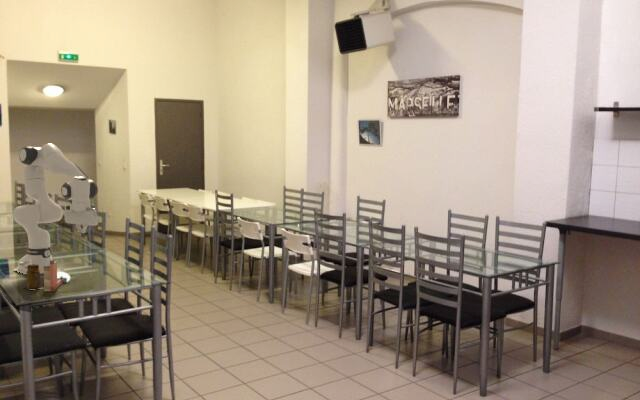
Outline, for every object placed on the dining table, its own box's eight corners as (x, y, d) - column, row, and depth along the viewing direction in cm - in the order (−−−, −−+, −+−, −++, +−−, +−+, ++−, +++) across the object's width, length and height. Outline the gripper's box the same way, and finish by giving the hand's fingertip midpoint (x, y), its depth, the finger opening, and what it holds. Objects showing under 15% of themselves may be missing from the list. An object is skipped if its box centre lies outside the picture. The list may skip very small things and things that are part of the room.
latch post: (45, 289, 293) (44, 264, 292) (53, 289, 294) (52, 264, 292) (43, 291, 290) (42, 266, 288) (51, 291, 290) (50, 266, 289)
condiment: (38, 285, 300) (37, 263, 299) (44, 288, 294) (44, 266, 293) (23, 288, 295) (22, 265, 293) (29, 291, 289) (29, 268, 288)
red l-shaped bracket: (58, 283, 304) (57, 254, 302) (62, 283, 304) (61, 254, 303) (50, 291, 288) (49, 261, 287) (54, 291, 289) (53, 261, 287)
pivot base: (54, 282, 306) (54, 277, 306) (61, 280, 310) (61, 275, 310) (61, 284, 304) (61, 278, 304) (68, 281, 309) (68, 276, 308)
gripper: (100, 207, 303) (101, 233, 304) (71, 205, 310) (72, 230, 312) (91, 208, 297) (92, 235, 298) (62, 206, 304) (62, 232, 306)
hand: (81, 232), depth 305 cm, fingers closed
